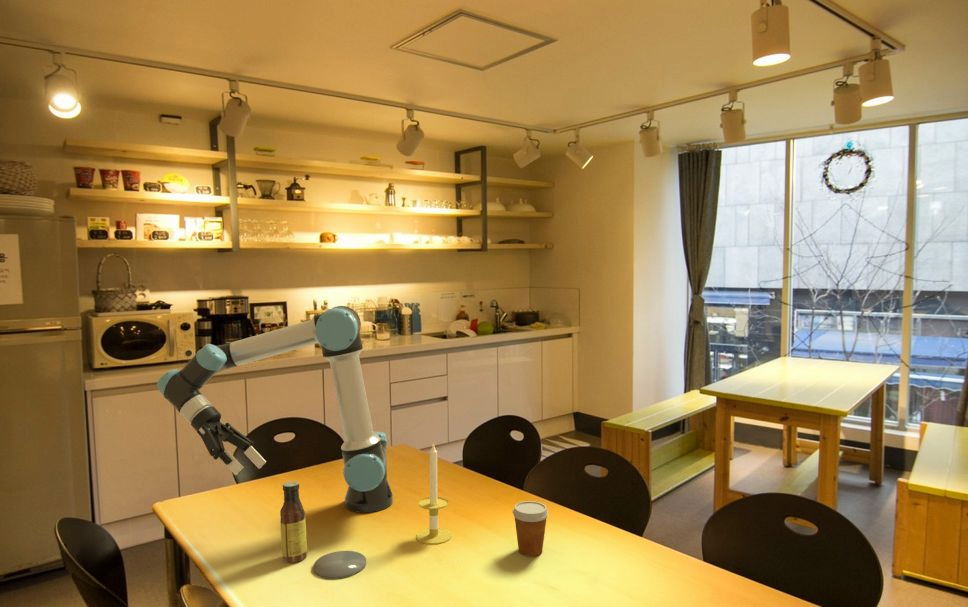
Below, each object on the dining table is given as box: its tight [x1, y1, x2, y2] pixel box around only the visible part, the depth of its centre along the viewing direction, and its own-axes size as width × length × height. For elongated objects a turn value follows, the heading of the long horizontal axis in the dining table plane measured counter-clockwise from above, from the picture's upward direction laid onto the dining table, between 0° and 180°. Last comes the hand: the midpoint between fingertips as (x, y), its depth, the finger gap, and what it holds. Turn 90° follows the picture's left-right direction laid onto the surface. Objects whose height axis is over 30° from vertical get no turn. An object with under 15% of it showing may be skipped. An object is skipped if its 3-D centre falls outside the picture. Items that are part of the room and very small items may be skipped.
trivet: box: [313, 550, 367, 580], centre depth 154 cm, size 13×13×1 cm
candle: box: [416, 442, 452, 546], centre depth 170 cm, size 10×10×27 cm
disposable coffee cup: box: [512, 500, 550, 557], centre depth 161 cm, size 10×10×12 cm
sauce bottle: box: [279, 480, 308, 564], centre depth 157 cm, size 7×6×20 cm
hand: (251, 468), depth 167 cm, fingers open, 13 cm apart
